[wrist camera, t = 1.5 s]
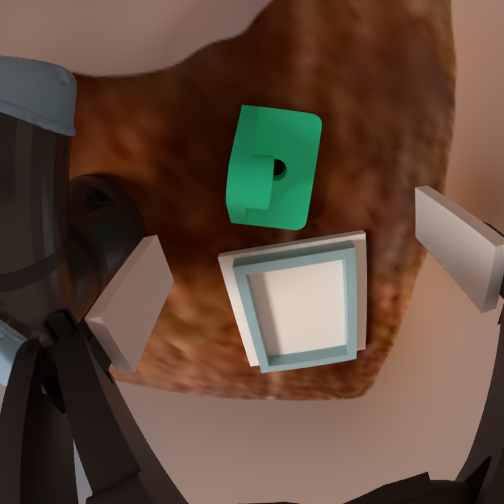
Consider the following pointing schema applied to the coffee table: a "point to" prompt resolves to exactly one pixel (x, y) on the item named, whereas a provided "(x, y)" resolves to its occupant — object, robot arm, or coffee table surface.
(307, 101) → the coffee table surface
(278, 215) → the camera mount
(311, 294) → the dock
